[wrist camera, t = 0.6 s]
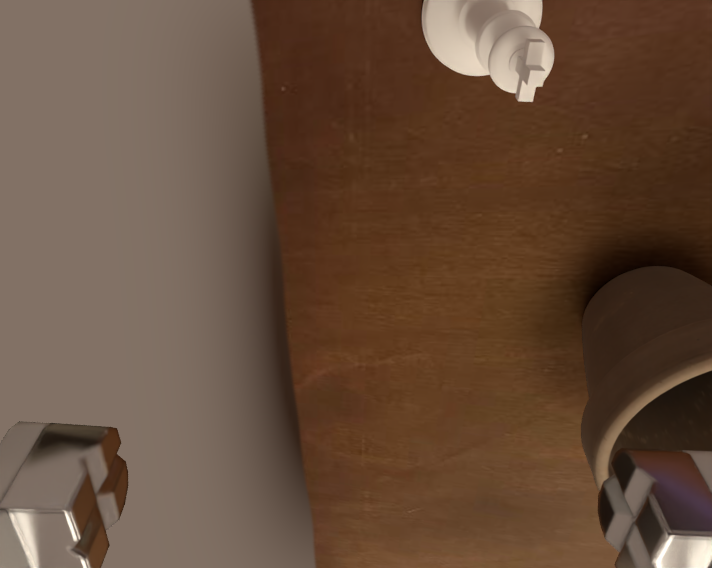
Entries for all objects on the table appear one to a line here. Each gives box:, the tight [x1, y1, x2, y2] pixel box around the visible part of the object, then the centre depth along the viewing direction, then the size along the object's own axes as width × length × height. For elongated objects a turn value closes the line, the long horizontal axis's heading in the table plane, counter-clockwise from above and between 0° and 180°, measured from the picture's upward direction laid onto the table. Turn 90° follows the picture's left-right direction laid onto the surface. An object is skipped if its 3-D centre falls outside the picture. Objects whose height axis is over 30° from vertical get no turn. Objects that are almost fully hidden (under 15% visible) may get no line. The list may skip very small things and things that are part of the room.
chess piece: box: [422, 0, 554, 102], centre depth 22 cm, size 5×5×10 cm
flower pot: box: [581, 266, 712, 491], centre depth 30 cm, size 12×11×10 cm
